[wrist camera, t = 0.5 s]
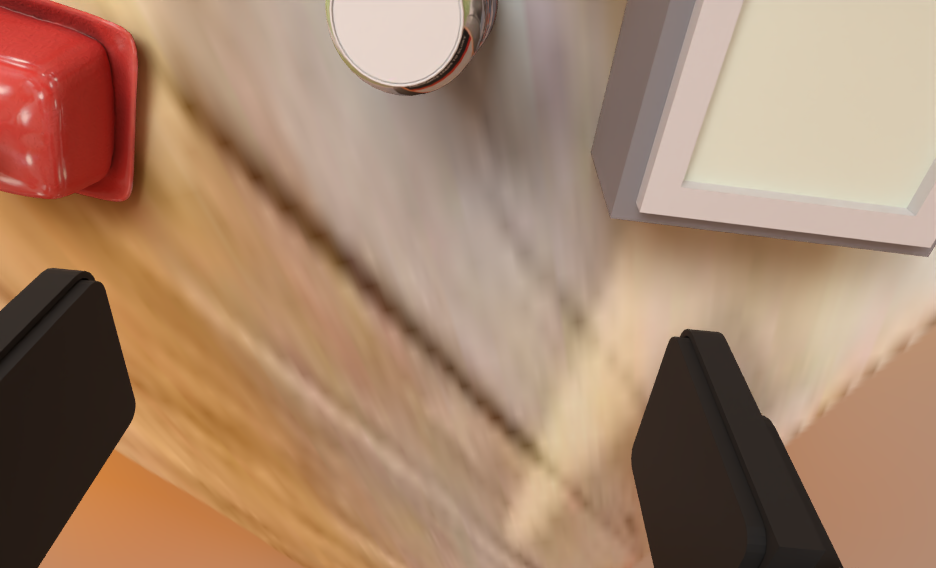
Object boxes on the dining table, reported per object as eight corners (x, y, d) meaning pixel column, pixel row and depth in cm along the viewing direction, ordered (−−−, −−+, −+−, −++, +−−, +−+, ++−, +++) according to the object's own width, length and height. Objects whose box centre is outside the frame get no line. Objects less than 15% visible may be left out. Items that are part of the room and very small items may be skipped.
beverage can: (426, 77, 36) (398, 167, 26) (341, -46, 32) (272, 4, 23) (523, 11, 34) (533, 82, 24) (442, -128, 30) (415, -112, 20)
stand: (670, -180, 29) (729, -186, 21) (1014, -131, 29) (1188, -120, 22) (591, 152, 38) (613, 228, 31) (854, 185, 38) (939, 268, 31)
